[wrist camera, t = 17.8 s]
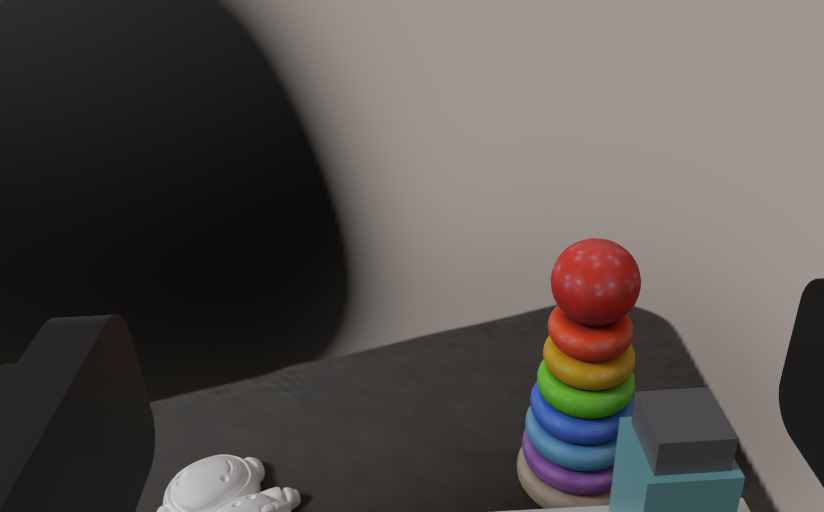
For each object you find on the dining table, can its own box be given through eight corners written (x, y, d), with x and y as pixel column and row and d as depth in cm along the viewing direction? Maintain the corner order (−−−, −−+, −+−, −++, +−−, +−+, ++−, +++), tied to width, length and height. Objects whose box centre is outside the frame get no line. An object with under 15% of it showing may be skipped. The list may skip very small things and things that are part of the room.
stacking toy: (493, 485, 52) (496, 247, 43) (556, 423, 57) (570, 198, 48) (595, 546, 47) (623, 293, 38) (654, 472, 52) (691, 233, 43)
